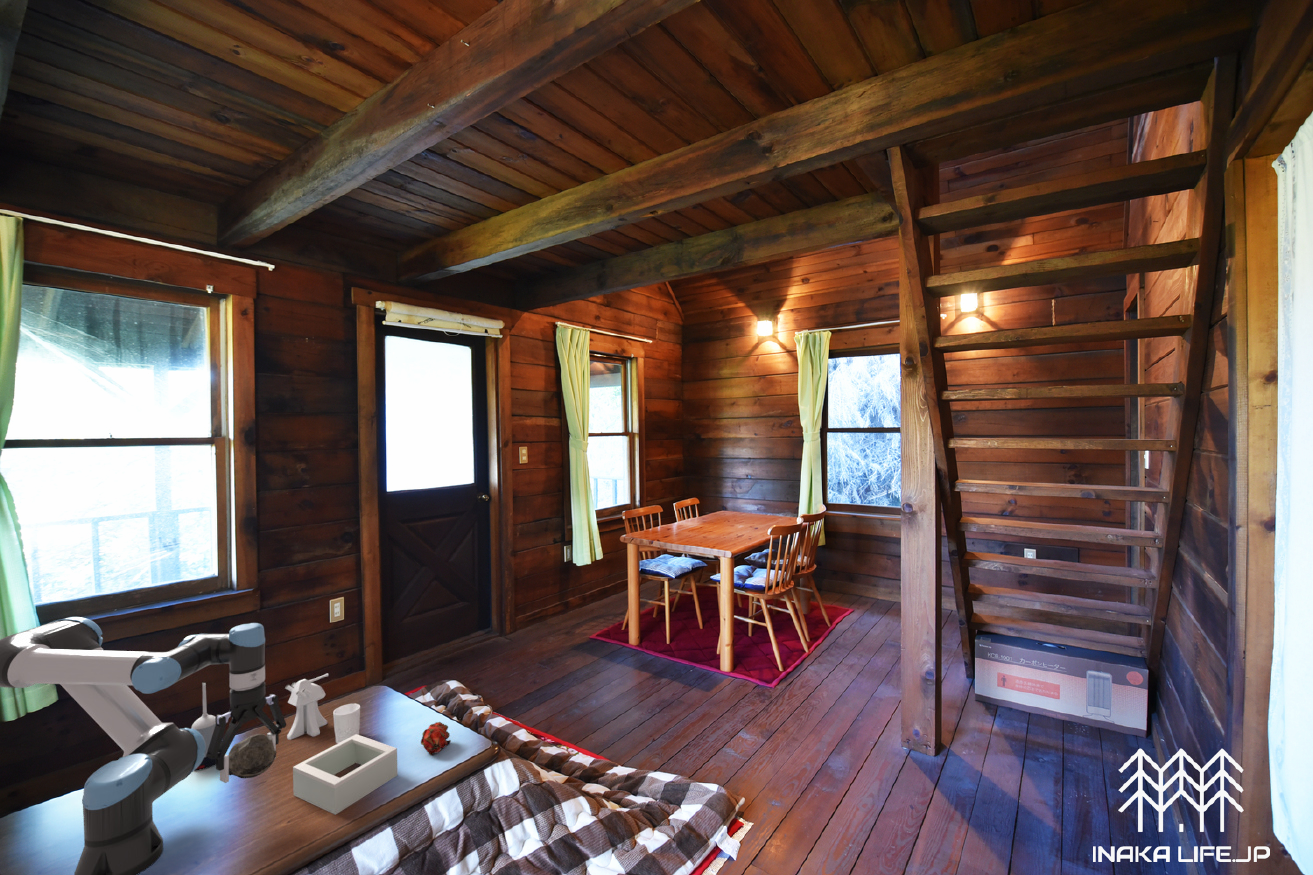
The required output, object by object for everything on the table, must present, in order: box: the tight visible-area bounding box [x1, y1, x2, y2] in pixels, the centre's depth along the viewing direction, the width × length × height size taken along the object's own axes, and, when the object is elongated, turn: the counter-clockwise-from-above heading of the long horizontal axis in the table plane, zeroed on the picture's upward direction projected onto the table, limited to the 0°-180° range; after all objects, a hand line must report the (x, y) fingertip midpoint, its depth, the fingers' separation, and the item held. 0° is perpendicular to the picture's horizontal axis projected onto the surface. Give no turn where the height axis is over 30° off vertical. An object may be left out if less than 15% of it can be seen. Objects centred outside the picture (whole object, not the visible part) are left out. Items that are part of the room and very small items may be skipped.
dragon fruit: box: [420, 721, 452, 756], centre depth 177 cm, size 8×8×12 cm
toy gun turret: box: [284, 673, 329, 741], centre depth 192 cm, size 12×13×18 cm
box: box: [292, 734, 399, 815], centre depth 160 cm, size 19×19×8 cm
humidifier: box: [191, 682, 216, 772], centre depth 173 cm, size 8×8×25 cm
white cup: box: [332, 703, 361, 744], centre depth 185 cm, size 8×8×10 cm
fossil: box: [227, 733, 277, 779], centre depth 145 cm, size 11×9×10 cm
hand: (248, 768), depth 145 cm, fingers closed on fossil, 10 cm apart
